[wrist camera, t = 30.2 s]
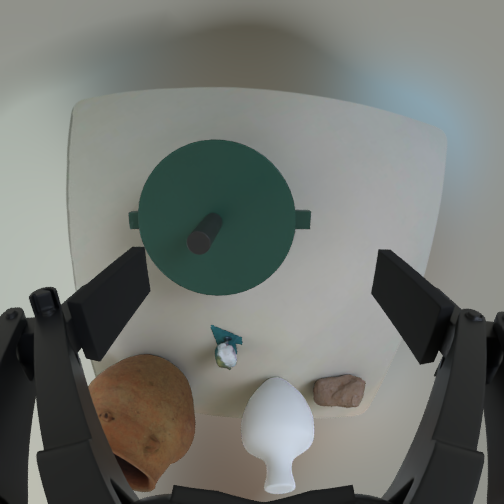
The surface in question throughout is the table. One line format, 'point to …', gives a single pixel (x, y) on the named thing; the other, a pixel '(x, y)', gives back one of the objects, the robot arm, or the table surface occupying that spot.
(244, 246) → the stewpot lid
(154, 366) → the pot
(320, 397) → the stone
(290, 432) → the vase
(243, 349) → the table surface
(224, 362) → the figurine
